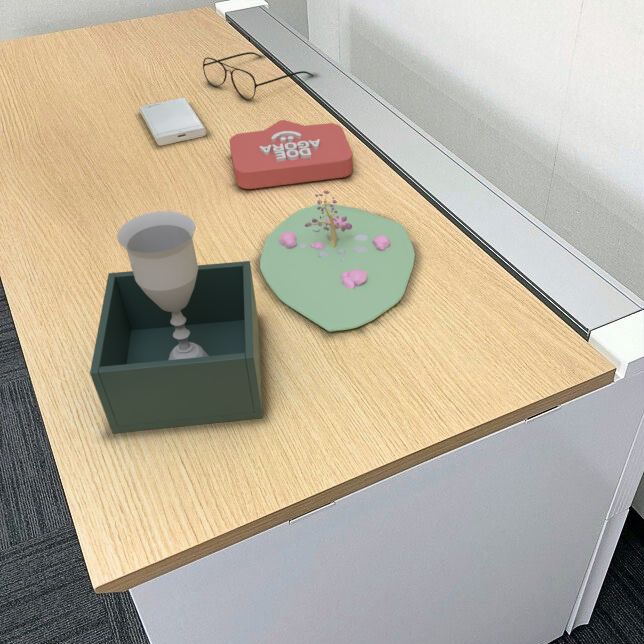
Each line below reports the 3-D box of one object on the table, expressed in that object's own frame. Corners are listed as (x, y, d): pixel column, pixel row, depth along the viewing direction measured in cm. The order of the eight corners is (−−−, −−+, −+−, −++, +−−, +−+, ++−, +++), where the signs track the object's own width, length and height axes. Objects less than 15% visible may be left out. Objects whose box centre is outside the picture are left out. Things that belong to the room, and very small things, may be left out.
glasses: (202, 82, 137) (200, 54, 134) (261, 65, 146) (260, 39, 143) (255, 104, 130) (255, 75, 127) (313, 85, 139) (314, 58, 136)
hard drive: (139, 106, 127) (156, 137, 119) (185, 96, 129) (205, 126, 121) (141, 115, 128) (158, 146, 120) (186, 105, 130) (206, 135, 122)
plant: (453, 308, 89) (459, 248, 83) (288, 345, 85) (281, 285, 79) (384, 202, 107) (385, 145, 100) (245, 228, 103) (237, 171, 96)
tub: (112, 433, 76) (89, 373, 70) (126, 332, 87) (108, 272, 81) (263, 418, 77) (253, 357, 71) (258, 320, 89) (249, 260, 82)
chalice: (220, 340, 85) (195, 207, 72) (223, 383, 80) (196, 247, 67) (156, 349, 84) (118, 215, 71) (155, 392, 79) (115, 257, 66)
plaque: (336, 110, 119) (355, 155, 109) (336, 132, 122) (355, 178, 112) (226, 122, 117) (234, 170, 107) (229, 144, 120) (238, 193, 109)
